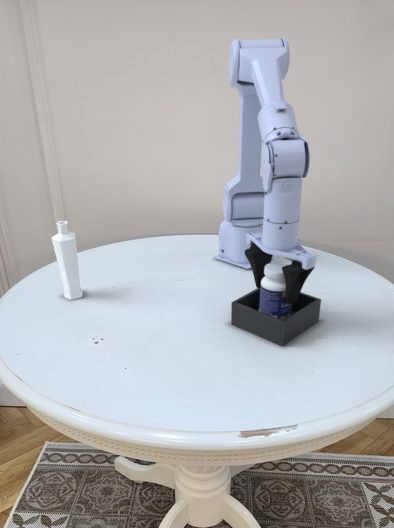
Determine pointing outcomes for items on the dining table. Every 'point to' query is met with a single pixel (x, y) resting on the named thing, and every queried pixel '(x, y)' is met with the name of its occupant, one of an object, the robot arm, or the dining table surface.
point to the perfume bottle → (67, 260)
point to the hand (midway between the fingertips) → (276, 293)
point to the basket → (271, 327)
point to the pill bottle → (274, 292)
